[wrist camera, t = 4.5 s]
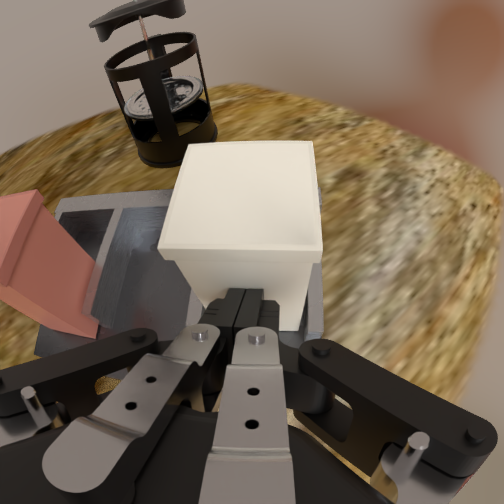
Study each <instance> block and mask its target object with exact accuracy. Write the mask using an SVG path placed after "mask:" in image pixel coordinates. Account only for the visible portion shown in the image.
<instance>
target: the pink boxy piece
mask: <svg viewBox="0 0 504 504" xmlns="http://www.w3.org/2000/svg"><path fill="white" fill-rule="evenodd" d="M43 200H44V198H43V196H42V195H41V194H40V193H39V191H38V190H37V189H36V190H31V191H26V192H20V193H15V194H11V195H6V196H1V197H0V299H1V300H2V301H4V302H5V303H7V304H8V305H10V306H12V307H13V308H15V309H16V310H18V311H20V312H21V313H23V314H25V315H26V316H28V317H30V318H32V319H33V320H35V321H37V322H39V323H40V324H42V325H44V326H46V327H48V328H49V329H53V330H57V331H61V332H66V333H70V334H75V335H79V336H84V337H89V338H94V339H95V338H96V334H97V329H98V324H97V323H96V322H94V321H92V320H91V319H89V318H88V317H86V316H85V315H83V314H82V313H81V311H82V307H83V303H84V300H85V296H86V292H87V289H88V285H89V282H90V279H91V275H92V272H93V269H94V265H95V261H94V260H93V259H92V258H91V257H90V256H89V255H88V254H87V253H86V252H85V251H84V250H83V249H82V248H81V246H80V245H79V244H78V243H77V242H76V241H75V240H74V239H73V238H72V237H71V236H70V235H69V234H68V232H67V231H66V230H65V229H64V228H63V227H62V226H61V225H60V224H59V222H58V221H57V220H56V219H55V218H54V217H53V216H52V214H51V213H50V212H49V211H48V210H47V209H46V207H45V206H44V205H43V204H42V202H43Z"/></svg>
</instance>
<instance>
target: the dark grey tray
mask: <svg viewBox="0 0 504 504" xmlns="http://www.w3.org/2000/svg"><path fill="white" fill-rule="evenodd" d="M173 190H174V189H166V190H149V191H135V192H122V193H111V194H100V195H90V196H80V197H71V198H63V199H61V200H60V202H59V204H58V206H57V208H56V210H55V212H54V213H55V214H56V215H55V217H54V218H55V219H56V220H57V221H58V222H59V224H60V225H61V226H62V227H63V228H64V229H65V230H66V231H67V232H68V234H69V235H70V236H71V237H72V238H73V239H74V240H75V241H76V242H77V243H78V244H79V245H80V246H81V248H82V249H83V250H84V251H85V252H86V253H87V254H88V255H89V256H90V257H91V258H92V259H93V260H94V261H95V265H94V269H93V272H92V275H91V279H90V282H89V285H88V289H87V292H86V296H85V300H84V303H83V307H82V311H81V313H82V314H83V315H85V316H86V317H88V318H89V319H91V320H92V321H94V322H96V323H97V324H98V329H97V334H96V338H95V339H94V338H89V337H84V336H79V335H75V334H70V333H66V332H61V331H57V330H53V329H49V328H48V327H46V326H44V325H42V324H40V328H39V332H38V337H37V341H36V346H35V351H34V355H37V356H39V357H42V358H43V357H47V356H50V355H53V354H57V353H60V352H63V351H66V350H70V349H73V348H76V347H79V346H82V345H85V344H88V343H92V342H95V341H98V340H101V339H104V338H107V337H110V336H113V335H116V334H119V333H122V332H125V331H128V330H131V329H136V328H148V329H152V330H154V331H155V332H156V333H157V336H158V341H167V340H174V339H175V338H176V337H177V336H178V334H179V333H180V332H181V331H182V330H183V329H184V328H186V327H188V326H190V325H194V324H197V323H198V322H199V320H200V318H201V316H202V315H203V314H204V311H205V310H206V309H205V307H204V306H203V304H202V303H201V301H200V300H199V298H198V297H197V295H196V294H195V292H194V291H193V289H192V288H191V286H190V285H189V283H188V282H187V280H186V278H185V277H184V275H183V274H182V272H181V271H180V269H179V267H178V266H177V264H176V263H175V261H174V260H164V258H163V257H162V255H161V254H160V252H159V251H158V249H157V247H158V243H159V240H160V236H161V232H162V228H163V225H164V221H165V218H166V214H167V211H168V207H169V204H170V200H171V197H172V194H173ZM318 196H319V207H320V214H321V208H322V201H321V191H320V187H318ZM322 333H323V290H322V266H321V261H320V263H313V265H312V270H311V275H310V280H309V284H308V289H307V294H306V299H305V303H304V308H303V312H302V317H301V321H300V326H299V330H298V331H279V339H280V341H281V342H282V343H284V344H285V345H288V346H290V347H294V348H298V349H299V347H300V345H301V344H302V343H304V342H305V341H308V340H311V339H321V335H322ZM127 374H128V371H127V368H124V369H122V370H119V371H116V372H114V373H111V374H108V375H106V376H105V377H109V378H113V379H118V380H123V379H124V377H125V376H126V375H127Z"/></svg>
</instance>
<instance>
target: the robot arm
mask: <svg viewBox="0 0 504 504" xmlns="http://www.w3.org/2000/svg"><path fill="white" fill-rule="evenodd" d="M279 317H280V305H279V304H278V303H277V302H276V301H275V300H264V289H247V290H246V289H238V288H229V289H228V292H227V294H226V296H225V298H224V299H221V298H217V299H215V300H213V301H212V302H210V303H209V305H208V306H207V308H206V310H205V311H204V314H203V315H202V316H201V318H200V320H199V322H198V323H197V324H194V325H190V326H188V327H186V328H184V329H183V330H182V331H181V332H180V333H179V334H178V336H177V337H176V338H175V339H174V340H167V341H158V336H157V333H156V332H155V331H154V330H152V329H148V328H136V329H131V330H128V331H125V332H122V333H119V334H116V335H113V336H110V337H107V338H104V339H101V340H98V341H95V342H92V343H88V344H85V345H82V346H79V347H76V348H73V349H70V350H66V351H63V352H60V353H57V354H53V355H50V356H47V357H43V358H40V359H37V360H33V361H30V362H27V363H23V364H20V365H16V366H13V367H9V368H6V369H2V370H0V504H449V502H450V501H451V500H452V498H453V497H454V496H455V495H456V494H457V493H458V492H459V491H460V490H461V489H462V488H463V487H464V485H465V484H466V483H467V482H468V481H469V480H470V479H471V477H472V476H473V475H474V474H475V472H476V471H477V470H478V469H479V468H480V466H481V465H482V464H483V463H484V461H485V460H486V459H487V457H488V456H489V455H490V453H491V452H492V451H493V449H494V448H495V446H496V444H497V439H498V436H497V432H496V430H495V428H494V426H493V425H492V424H491V423H490V422H488V421H487V420H485V419H483V418H481V417H479V416H477V415H474V414H472V413H470V412H468V411H466V410H464V409H462V408H460V407H458V406H456V405H454V404H452V403H450V402H448V401H446V400H444V399H442V398H440V397H438V396H436V395H434V394H432V393H430V392H428V391H426V390H424V389H422V388H420V387H418V386H416V385H414V384H412V383H410V382H408V381H407V380H405V379H403V378H401V377H399V376H397V375H395V374H393V373H391V372H389V371H388V370H386V369H384V368H382V367H380V366H378V365H376V364H374V363H373V362H371V361H369V360H367V359H365V358H363V357H362V356H360V355H358V354H356V353H354V352H352V351H351V350H349V349H347V348H345V347H343V346H342V345H340V344H338V343H336V342H334V341H331V340H328V339H311V340H308V341H305V342H304V343H302V344H301V345H300V347H299V349H298V348H294V347H290V346H288V345H285V344H284V343H282V342H281V341H280V339H279ZM124 368H127V371H128V374H127V375H126V376H125V377H124V379H123V380H122V381H121V382H120V383H119V384H118V385H117V386H116V388H115V389H113V390H111V391H108V392H106V393H103V394H100V395H97V393H96V391H95V387H94V386H95V382H96V381H97V380H98V379H99V378H100V377H103V376H106V375H108V374H111V373H114V372H116V371H119V370H122V369H124ZM335 394H336V395H337V396H339V397H340V398H342V399H343V400H345V401H346V402H348V403H349V405H350V406H351V408H352V410H351V409H350V408H348V407H347V406H345V405H344V404H342V403H341V402H339V401H338V400H337V399H335ZM56 402H58V403H56ZM286 408H289V409H293V413H294V416H295V418H296V419H297V420H298V421H300V422H301V423H302V424H303V425H304V426H305V427H307V428H308V429H309V430H310V431H311V432H313V433H314V434H315V435H316V436H317V437H319V438H320V439H321V440H322V441H324V442H325V443H326V444H327V445H328V446H330V447H331V448H332V449H334V450H335V451H336V452H337V453H339V454H340V455H341V456H342V457H344V458H345V459H346V460H348V461H349V462H350V463H352V464H353V465H354V466H356V467H357V468H358V469H360V470H361V471H362V472H364V473H365V474H366V475H368V476H369V477H371V479H370V485H369V484H368V483H367V482H366V481H364V480H363V479H362V478H361V477H359V476H358V475H357V474H356V473H354V472H353V471H352V470H351V469H349V468H348V467H347V466H346V465H345V464H343V463H342V462H341V461H340V460H339V459H338V458H336V457H335V456H334V455H333V454H332V453H331V452H329V451H328V450H327V449H326V448H325V447H324V446H323V445H321V444H320V443H319V442H318V441H317V440H316V439H315V438H313V437H312V436H311V435H309V434H308V433H306V432H304V431H302V430H301V429H298V428H296V427H294V426H291V425H288V424H287V412H286ZM218 409H219V412H217V411H218Z"/></svg>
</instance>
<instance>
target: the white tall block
mask: <svg viewBox="0 0 504 504" xmlns="http://www.w3.org/2000/svg"><path fill="white" fill-rule="evenodd" d="M157 249H158V251H159V252H160V254H161V255H162V257H163V258H164V260H174V261H175V263H176V264H177V266H178V267H179V269H180V271H181V272H182V274H183V275H184V277H185V278H186V280H187V282H188V283H189V285H190V286H191V288H192V289H193V291H194V292H195V294H196V295H197V297H198V298H199V300H200V301H201V303H202V304H203V306H204V307H205V309H206V308H207V306H208V305H209V303H210V302H212V301H213V300H215V299H217V298H221V299H224V298H225V296H226V294H227V292H228V289H229V288H238V289H246V290H247V289H264V300H275V301H276V302H277V303H278V304H279V305H280V317H279V331H298V330H299V326H300V321H301V317H302V312H303V308H304V303H305V299H306V294H307V289H308V284H309V280H310V275H311V270H312V265H313V263H320V261H321V256H322V252H323V246H322V232H321V219H320V207H319V196H318V186H317V176H316V167H315V158H314V150H313V142H312V141H236V142H216V143H200V144H189V145H188V147H187V150H186V153H185V156H184V159H183V162H182V165H181V168H180V171H179V174H178V178H177V181H176V184H175V187H174V190H173V194H172V197H171V200H170V204H169V207H168V211H167V214H166V218H165V221H164V225H163V228H162V232H161V236H160V240H159V243H158V247H157Z"/></svg>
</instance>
